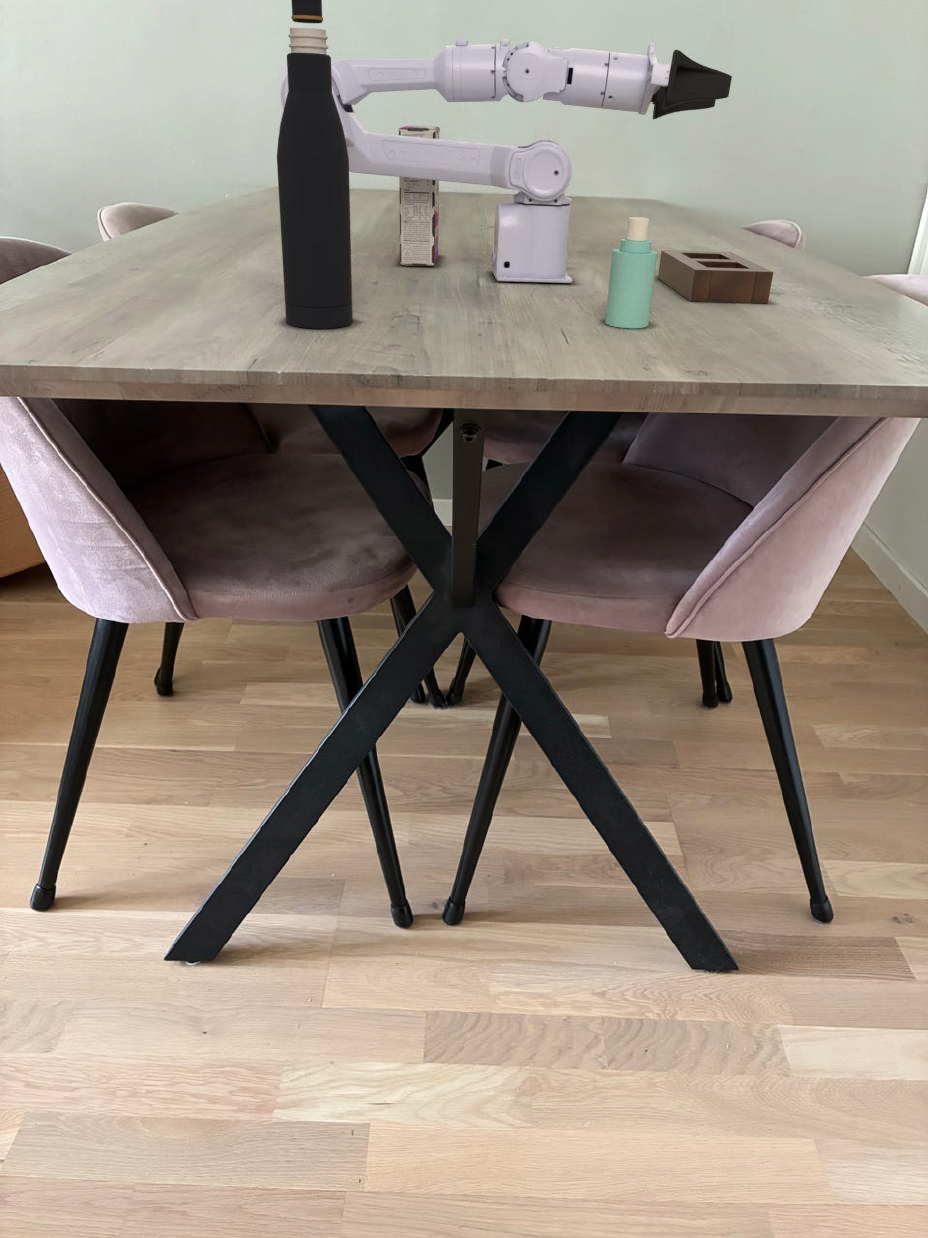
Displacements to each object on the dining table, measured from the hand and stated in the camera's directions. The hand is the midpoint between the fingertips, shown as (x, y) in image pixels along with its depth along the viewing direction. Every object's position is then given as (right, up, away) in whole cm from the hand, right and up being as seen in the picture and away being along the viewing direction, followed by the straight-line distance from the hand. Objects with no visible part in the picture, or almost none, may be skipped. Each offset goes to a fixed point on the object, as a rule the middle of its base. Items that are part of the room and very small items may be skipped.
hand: (722, 91), depth 106 cm
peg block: (+1, -20, +8) cm, 22 cm away
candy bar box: (-36, -12, +21) cm, 43 cm away
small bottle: (-13, -31, -12) cm, 35 cm away
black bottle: (-44, -32, -16) cm, 57 cm away
